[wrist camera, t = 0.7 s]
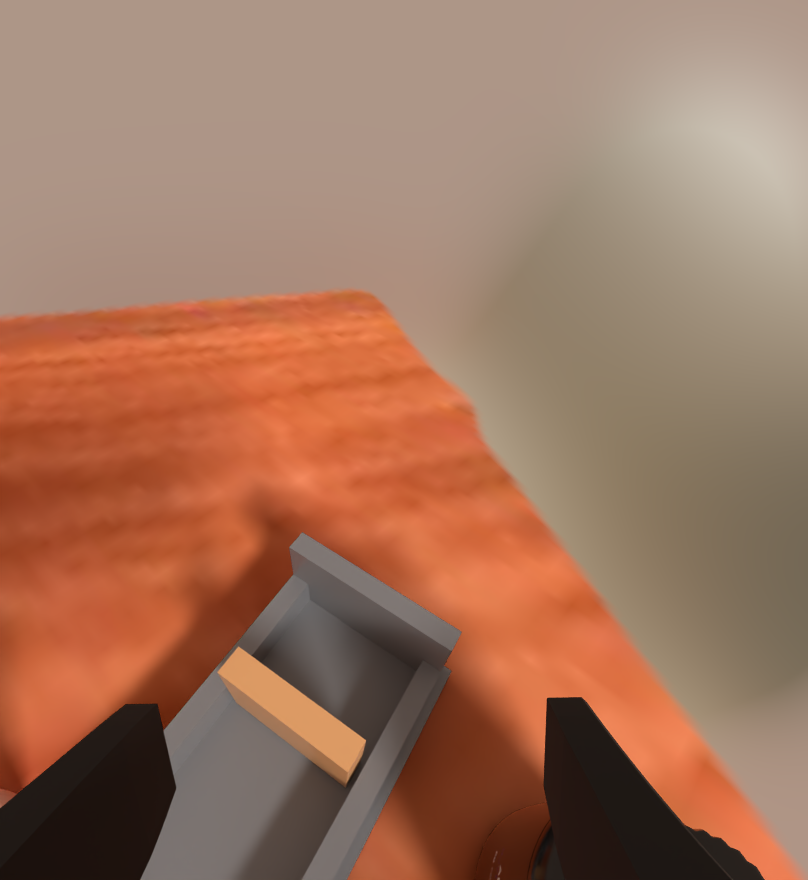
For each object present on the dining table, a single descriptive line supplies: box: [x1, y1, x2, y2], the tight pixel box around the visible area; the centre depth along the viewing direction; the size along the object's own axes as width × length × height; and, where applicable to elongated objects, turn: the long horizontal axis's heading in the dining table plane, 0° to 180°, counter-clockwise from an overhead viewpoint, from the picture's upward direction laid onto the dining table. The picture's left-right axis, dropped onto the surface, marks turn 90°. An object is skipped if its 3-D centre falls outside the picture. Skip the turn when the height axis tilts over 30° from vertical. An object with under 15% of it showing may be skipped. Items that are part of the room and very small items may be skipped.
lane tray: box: [140, 532, 462, 880], centre depth 18 cm, size 24×10×6 cm, turn 148°
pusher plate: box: [217, 646, 366, 788], centre depth 21 cm, size 1×6×5 cm, turn 58°
